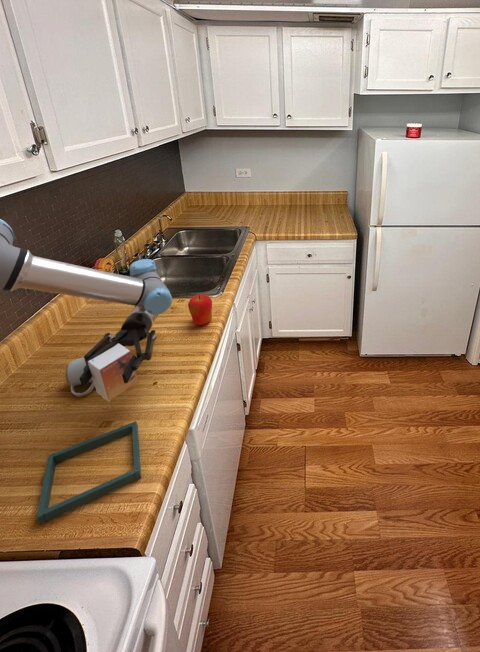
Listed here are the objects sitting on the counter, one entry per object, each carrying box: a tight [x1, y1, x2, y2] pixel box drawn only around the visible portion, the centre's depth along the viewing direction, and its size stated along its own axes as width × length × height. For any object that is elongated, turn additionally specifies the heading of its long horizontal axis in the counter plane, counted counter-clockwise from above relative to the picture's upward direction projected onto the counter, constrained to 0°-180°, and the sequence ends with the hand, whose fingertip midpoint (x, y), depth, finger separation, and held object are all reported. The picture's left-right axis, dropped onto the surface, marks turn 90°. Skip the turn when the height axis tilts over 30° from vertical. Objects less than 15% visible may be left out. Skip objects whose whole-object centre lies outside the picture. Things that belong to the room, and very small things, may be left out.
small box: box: [88, 343, 139, 403], centre depth 85 cm, size 8×6×10 cm
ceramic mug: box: [64, 356, 95, 397], centre depth 96 cm, size 11×8×8 cm
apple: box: [187, 293, 213, 326], centre depth 123 cm, size 9×8×12 cm
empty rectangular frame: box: [36, 420, 142, 525], centre depth 75 cm, size 18×14×2 cm
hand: (103, 380), depth 80 cm, fingers closed on small box, 9 cm apart
